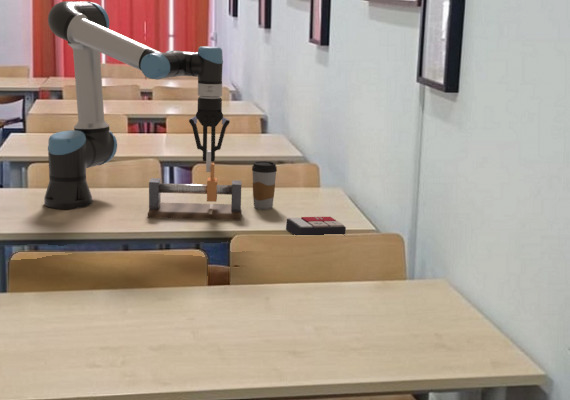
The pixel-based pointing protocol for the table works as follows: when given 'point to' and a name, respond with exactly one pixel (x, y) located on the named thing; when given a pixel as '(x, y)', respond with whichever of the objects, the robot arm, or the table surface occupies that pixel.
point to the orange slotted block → (212, 186)
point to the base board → (195, 211)
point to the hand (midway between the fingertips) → (208, 171)
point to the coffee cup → (263, 184)
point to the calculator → (314, 226)
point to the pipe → (192, 192)
